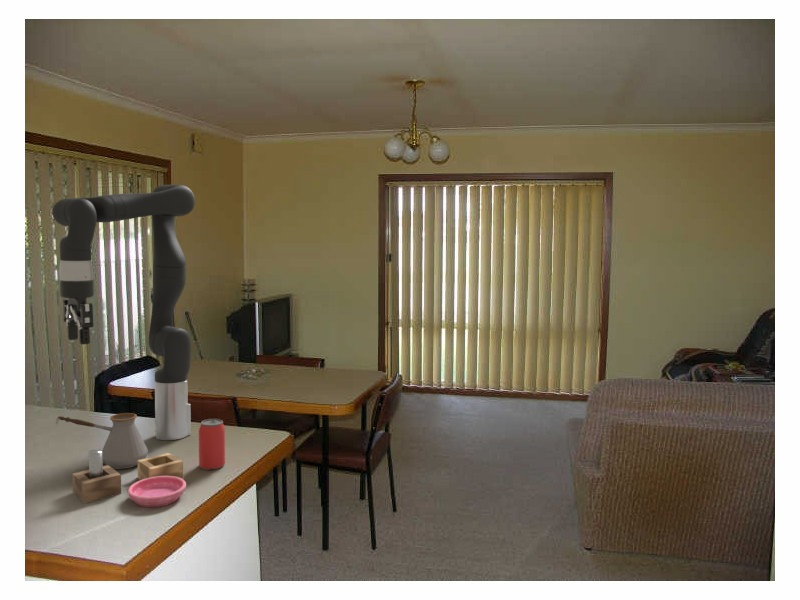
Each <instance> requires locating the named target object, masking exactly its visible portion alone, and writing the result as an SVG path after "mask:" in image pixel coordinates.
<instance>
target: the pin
mask: <svg viewBox="0 0 800 600" xmlns="http://www.w3.org/2000/svg"><path fill="white" fill-rule="evenodd" d="M102 450H103V449H101V448H100V449H99V448H98V449H92V450H89V451H88V464H89V465H88V470H89V477H90V479H94V478H98V477H102V476H103V466H104V465H103V464H104V462H103V461H102Z"/></svg>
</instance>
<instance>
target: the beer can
mask: <svg viewBox="0 0 800 600" xmlns="http://www.w3.org/2000/svg"><path fill="white" fill-rule="evenodd" d="M225 464H226V429H225V425H224V421H223V420H222V419H220V418H208V419H204V420H202V421H201V422H200V426H199V428H198V465H199V467H200V468H201V469H203V470H209V471H210V470H217V469H220V468H222V467H224V465H225Z"/></svg>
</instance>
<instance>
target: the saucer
mask: <svg viewBox="0 0 800 600" xmlns="http://www.w3.org/2000/svg"><path fill="white" fill-rule="evenodd" d="M186 488H187V482H186V481H185V480H184V478H183V479H181V478H179V477H175V476H156V477H150V478H146V479H143V480H140V479H139V480H138V481H135V482H134V483H132V484H131V485H130V486H129V487H128V490H127V493H128V497H129V499H131V500H132V501H133V502H135V503H136V505H138V506H141V507H145V508H146V507H147V508H158V507H163V506H167V505H170V504H172V503H174V502H176V501H177V500H178V499H179V498H180V496H182V495H183V493H184V492H185V491H186Z"/></svg>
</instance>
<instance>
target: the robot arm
mask: <svg viewBox="0 0 800 600" xmlns="http://www.w3.org/2000/svg"><path fill="white" fill-rule="evenodd" d="M195 204H196V198H195V195H194V193H193V191H192V190H191V189H190V188H189V187H188V186H186V185H183V184H160V185H158V186H156V187H155V188H154V189H153V191H152V192H141V193H138V192H137V193H135V192H134V193H133V192H132V193H115V194H106V195H105V194H104V195H99V196H94V197H70V198H69V197H68V198H62V199H60V200H57V202H55V204H54V205H53V206H52V209H51V213H52V214H51V215H52V217H53V218H52V219H54V221H55V222H57V224H59V225H61V226H63V227H68V231H67V236H64V237H62V238H61V240H60V241H59V273H58V274H59V295H60V297H61V299H62V298H63V301H62V305H63V307H62V308H63V309H62V310H63V313H62V314H63V315H62V316H63V319H62V321H63V322H64V323H65V324H66V327H67V339H68V340H69V341H73V340H75V341H76V340H78V341H79V342H78V343H79V344H80V345H89V344H90V343H91V336H90V335H91V334H90V330H91V328H94V311H93V309H94V308H93V303H92V302H91V303H89V302H88V300H87V299H88V298H92V297H94V294H95V292H94V291H95V290H94V289H95V288H94V268H93V267H94V266H93V262H92V259H93V258H92V256H93V255H92V242H93V238H94V234H95V229H96V226H97V223H113V222H118V221H125V220H126V221H127V220H132V219H137V218H142V217H149V216H151V220H152V230H153V235H152V236H153V239H152V240H153V245H152V246H153V259H152V261H153V262H152V300H151V301H152V303H151V304H152V305H151V314H150V315H151V317H150V324H149V332H148V347H149V349H150V351H151V353H152V354H153V355H155V356H157V357H162V358H163V365H162V368H159V369H157V370H156V371H155V372H154V414H155V415H154V417H155V420H154V421H155V423H154V424H155V429H154V430H155V438H156V439H157V440H162V441H173V440H174V441H175V440H180V439H183V438H186V437H187V436H190V435H192V433H191V432H192V431H191V430H192V429H191V428H192V427H191V426H192V424H191V423H192V422H191V420H192V417H191V415H192V413H191V408H192V407H191V403H189V402H188V401H189V400H188V399H189V397H188V391H189V389H188V375H189V372H190V370H191V357H192V341H191V336H190V334H189V332H188V331H187V330H186V329H184V328H181V327H174V316H175V315H174V312H175V308H176V304H177V303H178V301H179V299H180V298H181V295H182V293H183V292H184V288H185V286H186V279H187V263H186V262H187V261H186V257H185V254H184V252H183V249H182V247H181V245H180V243H179V241H178V238H177V235H176V229H175V227H176V225H175V221H176V217H184V216H186V215H188V214H190V213H191V212H192V211H193V210H194V209H195Z"/></svg>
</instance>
